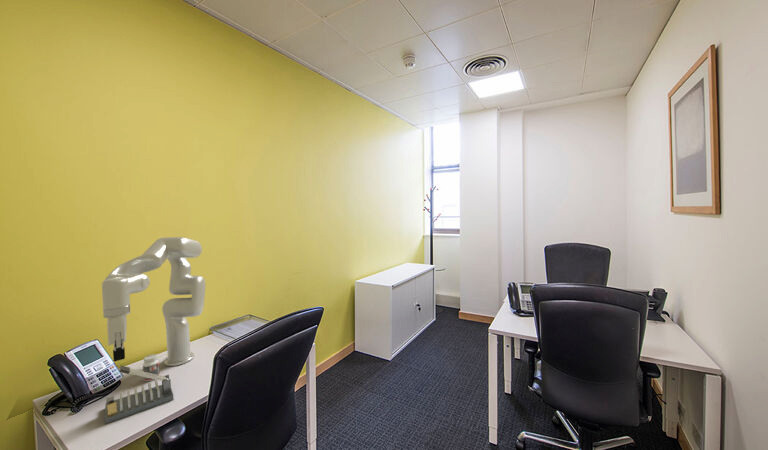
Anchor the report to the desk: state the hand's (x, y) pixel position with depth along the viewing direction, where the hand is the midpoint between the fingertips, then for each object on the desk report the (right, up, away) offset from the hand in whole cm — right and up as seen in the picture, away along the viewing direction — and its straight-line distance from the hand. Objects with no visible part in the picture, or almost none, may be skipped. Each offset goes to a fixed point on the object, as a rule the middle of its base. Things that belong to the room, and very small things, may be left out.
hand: (119, 359), depth 113 cm
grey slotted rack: (+4, -20, +5) cm, 21 cm away
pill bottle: (-6, -19, +23) cm, 30 cm away
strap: (+5, -9, +5) cm, 12 cm away
